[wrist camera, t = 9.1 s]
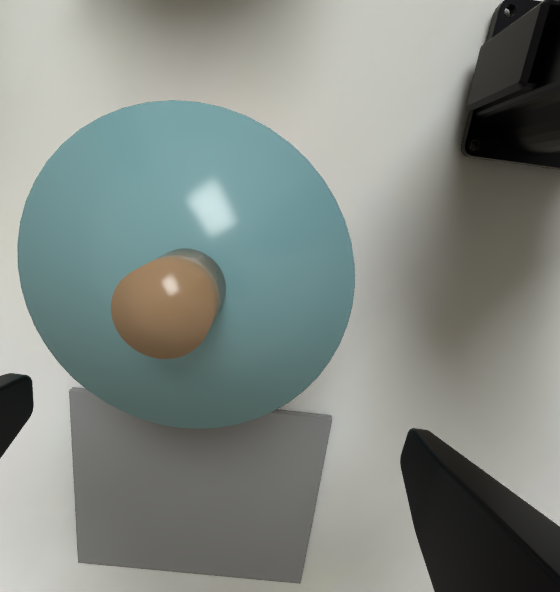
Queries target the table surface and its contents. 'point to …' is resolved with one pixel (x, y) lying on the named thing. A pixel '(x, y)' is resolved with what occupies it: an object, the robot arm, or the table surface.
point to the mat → (196, 491)
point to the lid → (186, 264)
